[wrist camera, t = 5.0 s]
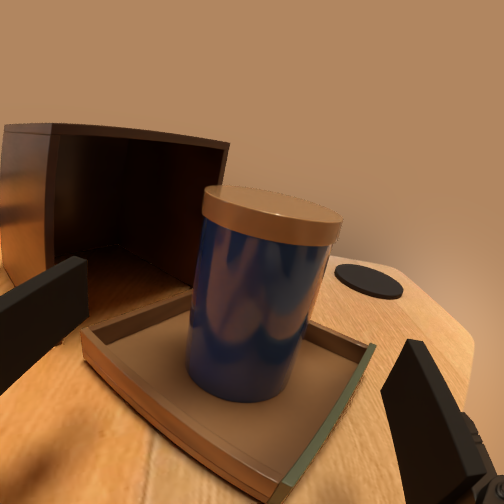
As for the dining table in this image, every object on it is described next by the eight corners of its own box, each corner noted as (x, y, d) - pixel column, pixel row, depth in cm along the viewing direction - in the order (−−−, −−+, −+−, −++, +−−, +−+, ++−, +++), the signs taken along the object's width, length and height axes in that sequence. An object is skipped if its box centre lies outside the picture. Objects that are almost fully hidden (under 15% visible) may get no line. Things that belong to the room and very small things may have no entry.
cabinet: (204, 289, 32) (230, 142, 28) (55, 346, 18) (52, 122, 14) (119, 242, 40) (131, 130, 35) (2, 265, 26) (4, 124, 21)
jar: (289, 417, 16) (354, 233, 13) (164, 384, 17) (183, 194, 13) (294, 347, 24) (335, 206, 20) (199, 324, 24) (223, 181, 21)
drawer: (364, 371, 23) (377, 345, 22) (276, 510, 11) (293, 487, 10) (217, 300, 30) (221, 275, 29) (83, 357, 18) (79, 325, 17)
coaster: (411, 305, 39) (412, 301, 39) (338, 289, 40) (340, 284, 40) (391, 276, 49) (392, 273, 49) (331, 262, 50) (332, 258, 50)
